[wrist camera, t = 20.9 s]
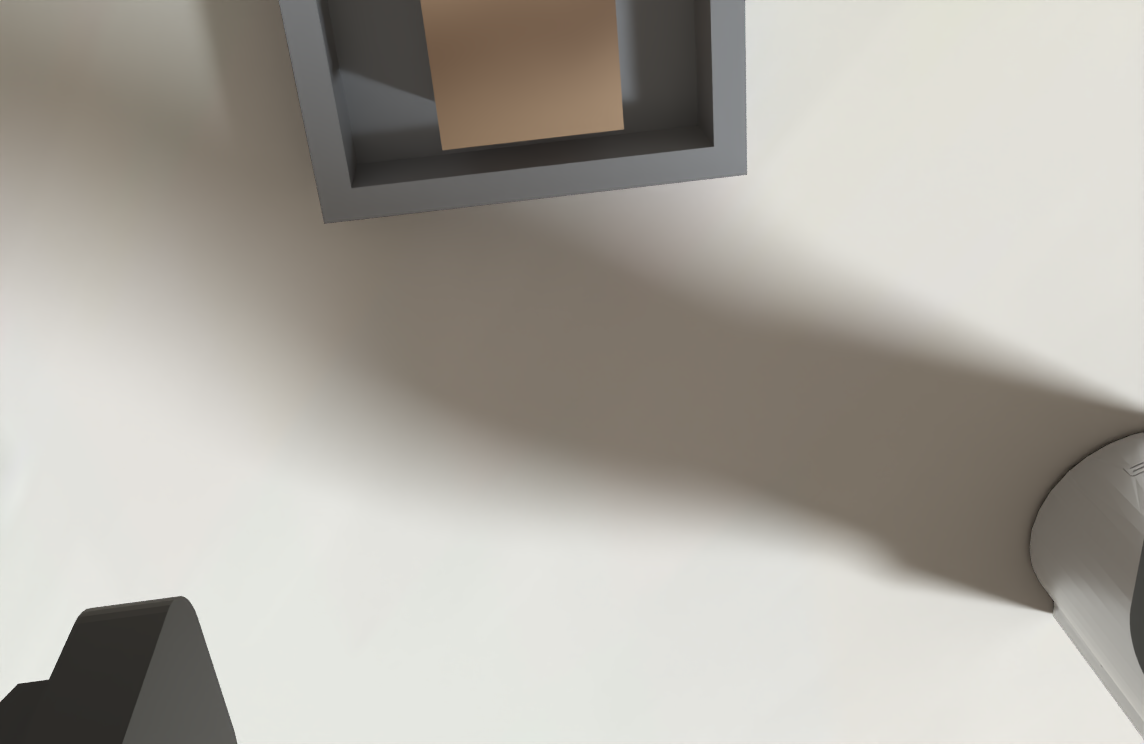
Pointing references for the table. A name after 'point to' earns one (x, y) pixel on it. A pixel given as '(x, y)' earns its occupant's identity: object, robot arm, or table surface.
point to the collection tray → (517, 169)
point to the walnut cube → (522, 69)
